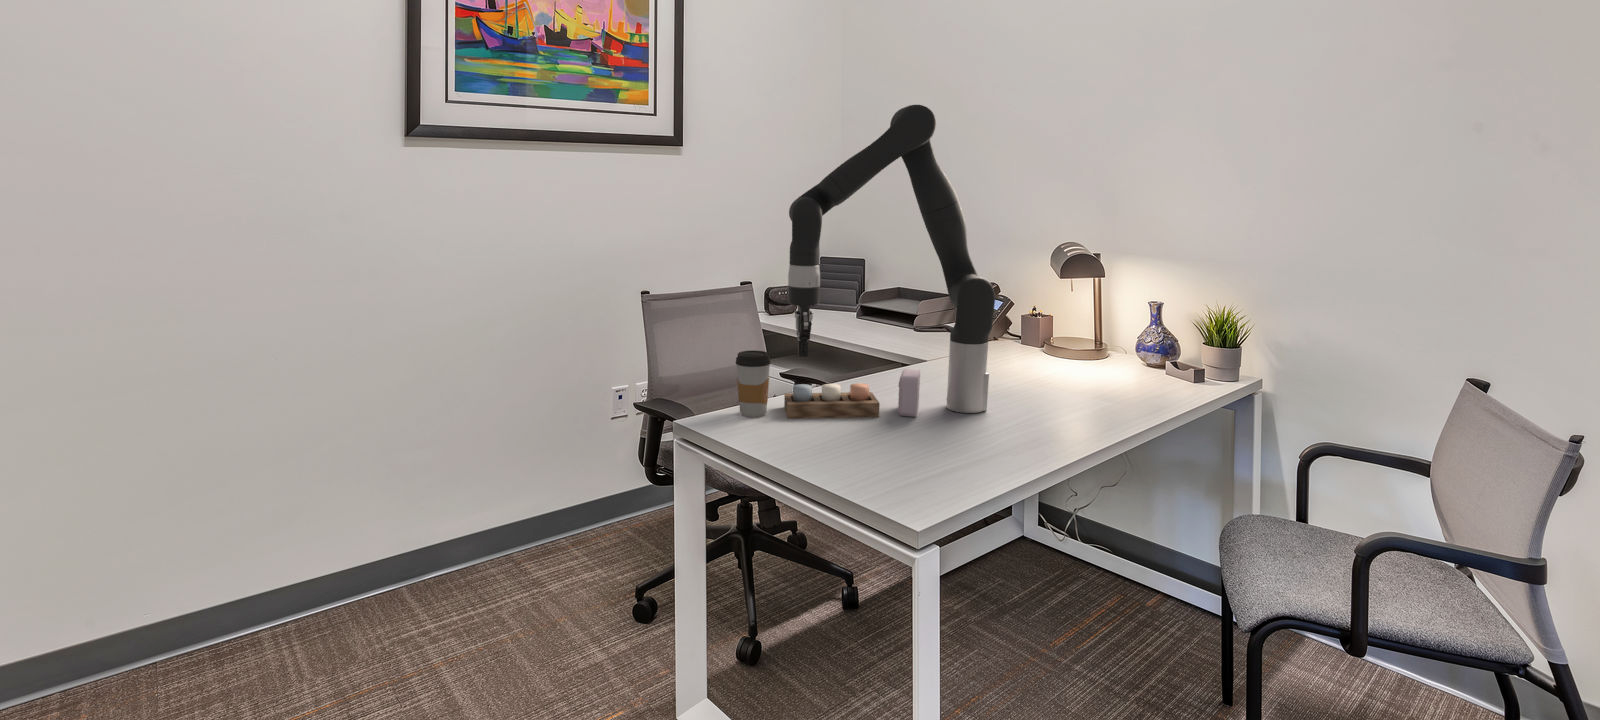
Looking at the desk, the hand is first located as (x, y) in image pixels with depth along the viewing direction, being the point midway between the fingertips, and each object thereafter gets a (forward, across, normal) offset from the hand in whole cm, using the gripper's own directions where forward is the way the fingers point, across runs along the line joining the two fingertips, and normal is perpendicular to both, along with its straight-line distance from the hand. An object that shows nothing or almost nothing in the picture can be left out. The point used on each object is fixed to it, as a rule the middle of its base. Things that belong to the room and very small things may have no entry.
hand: (802, 355), depth 189 cm
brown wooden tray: (+14, 0, -7) cm, 16 cm away
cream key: (+11, 0, -7) cm, 13 cm away
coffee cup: (+14, -1, +12) cm, 19 cm away
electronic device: (+14, -1, -26) cm, 30 cm away
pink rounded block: (+11, 0, -14) cm, 18 cm away
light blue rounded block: (+11, 0, 0) cm, 11 cm away
